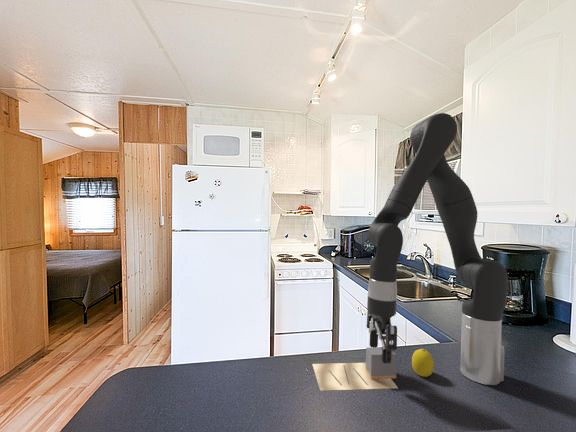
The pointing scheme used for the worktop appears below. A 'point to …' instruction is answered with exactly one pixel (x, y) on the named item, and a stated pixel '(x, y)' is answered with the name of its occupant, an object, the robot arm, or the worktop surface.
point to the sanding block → (380, 364)
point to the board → (348, 377)
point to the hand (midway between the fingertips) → (379, 354)
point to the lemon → (422, 363)
